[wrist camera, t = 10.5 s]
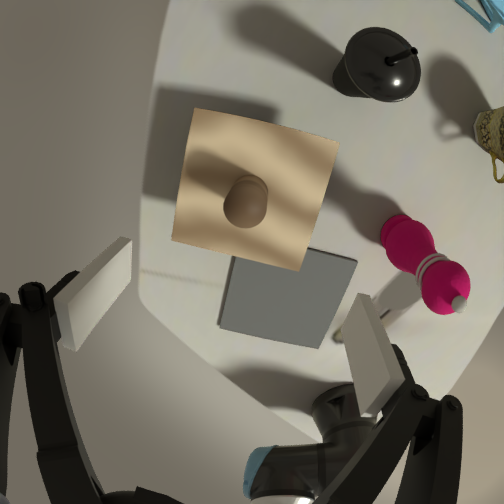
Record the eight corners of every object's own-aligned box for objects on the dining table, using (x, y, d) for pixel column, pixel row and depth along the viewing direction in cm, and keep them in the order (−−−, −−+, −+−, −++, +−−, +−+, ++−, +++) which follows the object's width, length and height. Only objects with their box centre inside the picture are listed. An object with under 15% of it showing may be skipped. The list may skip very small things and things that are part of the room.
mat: (317, 346, 52) (318, 348, 51) (219, 326, 51) (219, 328, 51) (356, 260, 44) (357, 262, 44) (242, 231, 44) (241, 233, 43)
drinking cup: (386, 92, 34) (469, 81, 15) (342, 116, 36) (400, 115, 18) (357, 45, 31) (420, -3, 13) (311, 68, 33) (344, 23, 15)
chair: (484, 38, 26) (530, 30, 15) (452, -2, 24) (494, -21, 13) (501, 22, 24) (544, 14, 13) (472, -16, 22) (511, -33, 11)
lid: (298, 267, 38) (302, 299, 31) (174, 236, 37) (154, 262, 31) (337, 142, 31) (353, 148, 24) (197, 108, 30) (177, 105, 24)
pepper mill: (376, 214, 41) (438, 284, 23) (419, 208, 40) (495, 271, 22) (377, 258, 44) (428, 344, 26) (418, 251, 43) (481, 328, 25)
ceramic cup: (478, 88, 31) (518, 88, 21) (513, 127, 32) (551, 135, 23) (448, 152, 36) (486, 164, 27) (485, 187, 37) (522, 205, 28)
